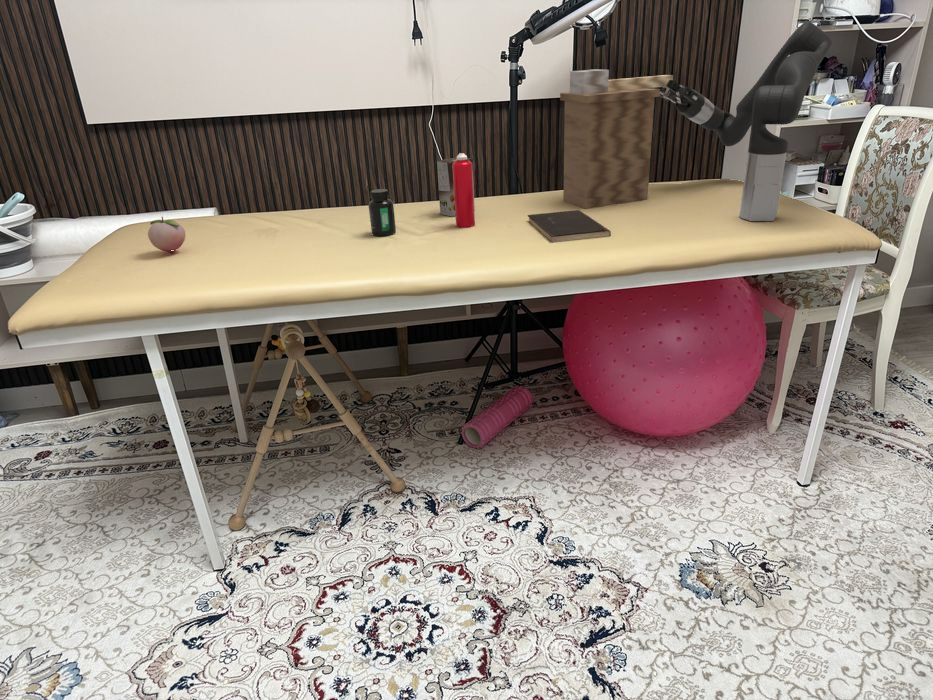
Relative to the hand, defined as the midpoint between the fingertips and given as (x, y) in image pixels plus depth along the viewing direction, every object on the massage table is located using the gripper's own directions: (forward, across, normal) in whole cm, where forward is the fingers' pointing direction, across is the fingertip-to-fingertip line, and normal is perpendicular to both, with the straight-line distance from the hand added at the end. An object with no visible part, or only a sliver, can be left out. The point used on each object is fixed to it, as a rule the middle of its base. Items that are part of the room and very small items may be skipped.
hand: (659, 82), depth 190 cm
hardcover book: (+21, +23, +51) cm, 60 cm away
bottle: (+41, +5, +62) cm, 75 cm away
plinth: (-2, 0, +38) cm, 38 cm away
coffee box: (+38, -10, +61) cm, 72 cm away
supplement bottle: (+61, +1, +74) cm, 96 cm away
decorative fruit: (+110, -11, +102) cm, 151 cm away
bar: (+10, 0, +7) cm, 13 cm away
